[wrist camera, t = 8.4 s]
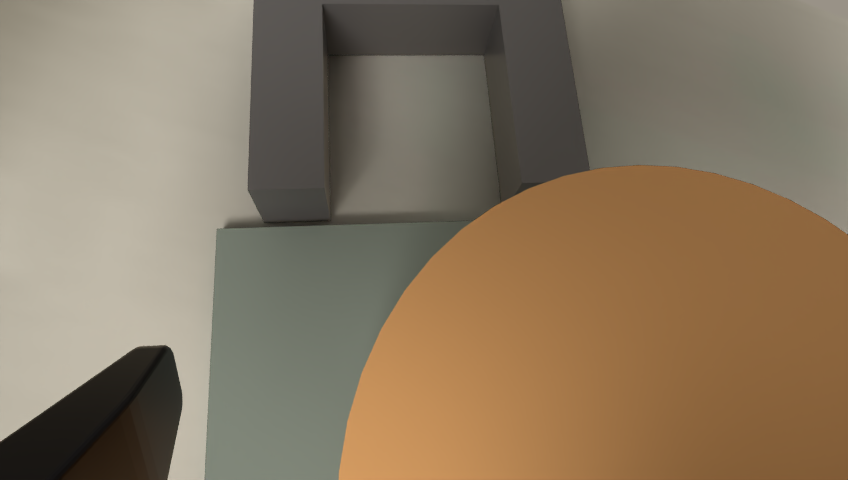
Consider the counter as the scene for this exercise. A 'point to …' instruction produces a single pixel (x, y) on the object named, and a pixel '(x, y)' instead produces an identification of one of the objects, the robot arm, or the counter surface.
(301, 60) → the dark grey piece
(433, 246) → the mat
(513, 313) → the orange peg
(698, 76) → the counter surface
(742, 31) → the counter surface
